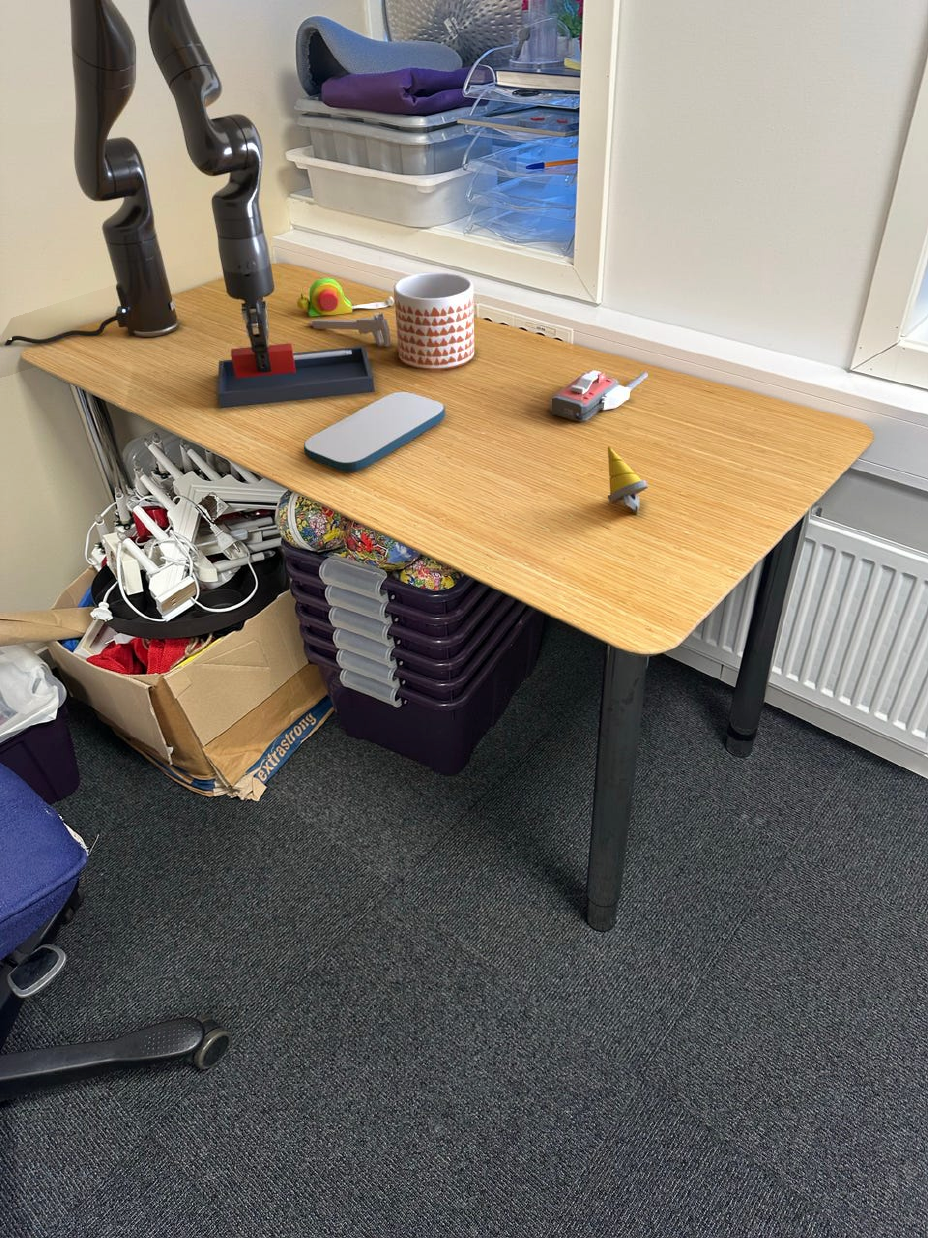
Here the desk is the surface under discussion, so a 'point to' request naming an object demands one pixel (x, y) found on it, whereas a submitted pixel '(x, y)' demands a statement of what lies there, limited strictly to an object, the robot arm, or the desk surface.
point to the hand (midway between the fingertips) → (264, 366)
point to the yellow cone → (623, 482)
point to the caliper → (360, 327)
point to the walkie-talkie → (591, 396)
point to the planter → (434, 320)
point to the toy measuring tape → (332, 300)
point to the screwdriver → (272, 360)
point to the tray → (299, 380)
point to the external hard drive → (374, 431)
